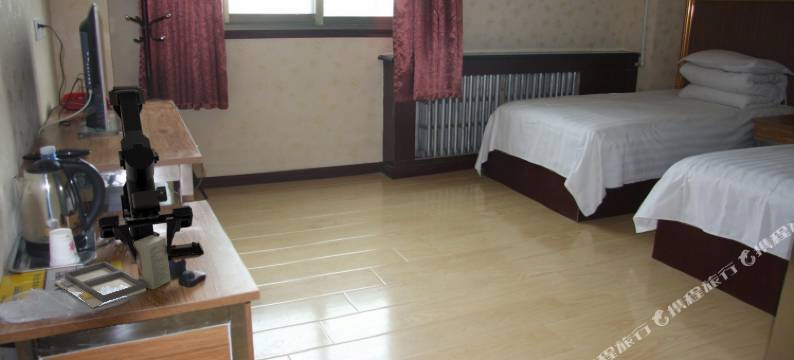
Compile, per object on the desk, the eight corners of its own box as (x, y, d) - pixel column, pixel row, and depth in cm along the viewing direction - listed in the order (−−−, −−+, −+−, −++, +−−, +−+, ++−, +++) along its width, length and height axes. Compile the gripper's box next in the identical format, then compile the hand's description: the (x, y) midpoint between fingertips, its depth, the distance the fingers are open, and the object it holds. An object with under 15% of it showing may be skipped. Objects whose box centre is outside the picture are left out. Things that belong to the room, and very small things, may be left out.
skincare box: (157, 277, 138) (153, 234, 135) (171, 281, 136) (167, 237, 133) (137, 286, 133) (132, 241, 131) (151, 290, 131) (147, 245, 129)
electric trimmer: (135, 259, 150) (134, 246, 149) (203, 250, 155) (202, 238, 154) (135, 264, 146) (133, 252, 145) (204, 255, 151) (203, 243, 150)
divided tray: (55, 283, 134) (54, 275, 134) (106, 268, 142) (105, 261, 142) (93, 308, 123) (92, 300, 123) (146, 290, 131) (145, 282, 131)
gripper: (93, 179, 128) (101, 247, 121) (188, 169, 136) (200, 233, 129) (96, 205, 137) (104, 270, 130) (185, 195, 145) (197, 256, 138)
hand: (152, 257), depth 132 cm, fingers closed on skincare box, 6 cm apart
